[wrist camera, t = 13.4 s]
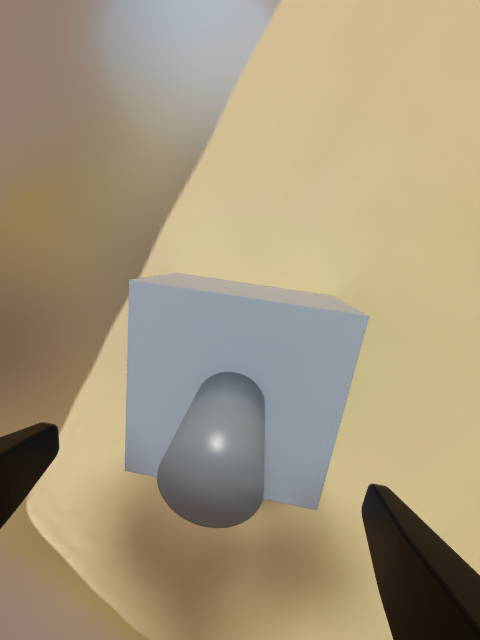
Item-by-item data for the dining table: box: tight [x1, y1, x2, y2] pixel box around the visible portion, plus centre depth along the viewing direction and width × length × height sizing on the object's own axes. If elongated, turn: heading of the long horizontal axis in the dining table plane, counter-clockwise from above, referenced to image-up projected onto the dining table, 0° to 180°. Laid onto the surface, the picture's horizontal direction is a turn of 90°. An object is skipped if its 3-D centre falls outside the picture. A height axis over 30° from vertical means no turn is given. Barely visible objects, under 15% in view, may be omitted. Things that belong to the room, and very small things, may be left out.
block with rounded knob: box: [125, 273, 369, 528], centre depth 12 cm, size 10×10×10 cm
